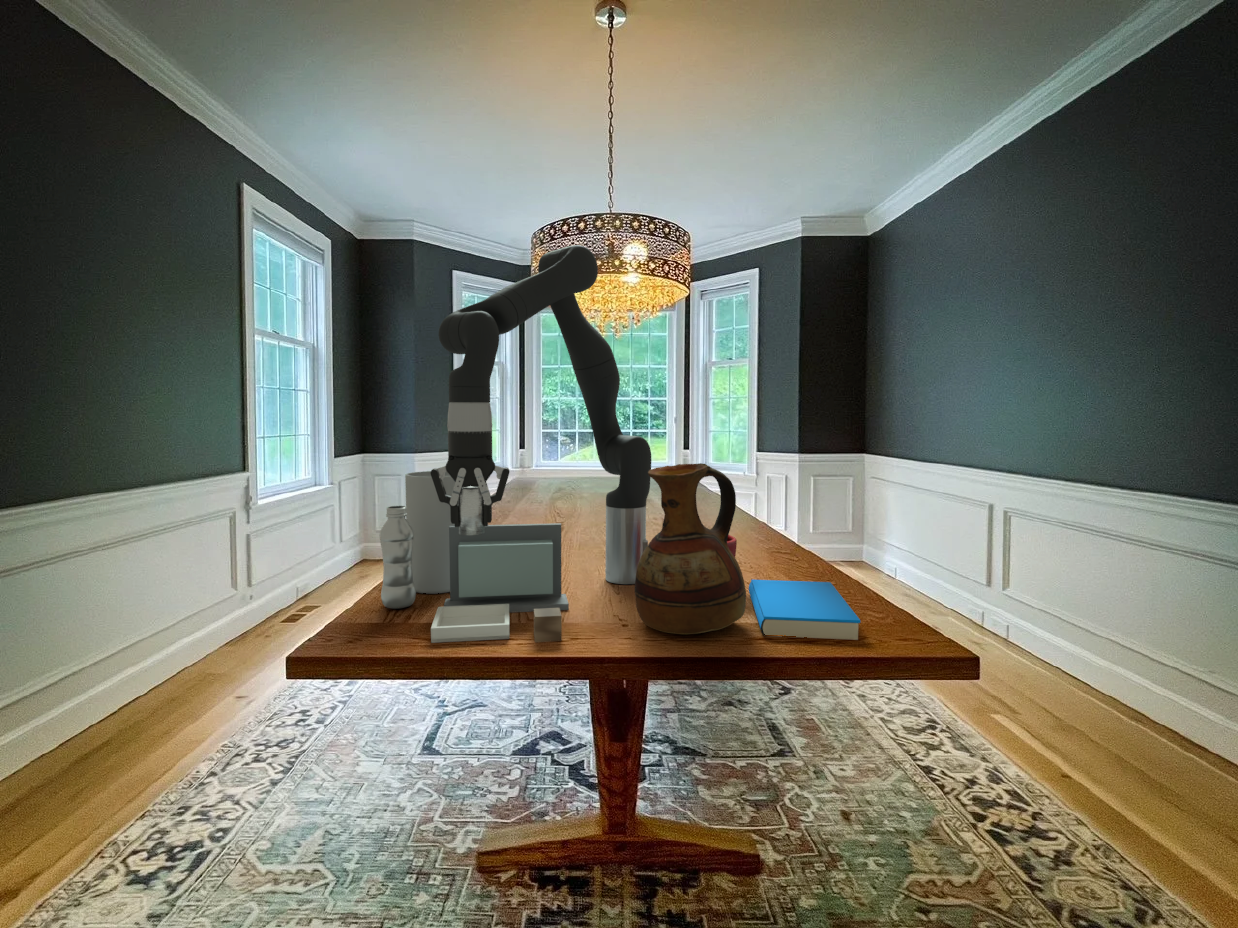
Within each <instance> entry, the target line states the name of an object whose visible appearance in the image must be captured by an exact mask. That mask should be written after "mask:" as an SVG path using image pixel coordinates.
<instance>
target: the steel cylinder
mask: <svg viewBox="0 0 1238 928" xmlns="http://www.w3.org/2000/svg"><path fill="white" fill-rule="evenodd" d="M484 504H485V502H484V499H483V496H482V494H481V491H480V488H479V487H473V486H468V487H462V488H461V491H460V494H459V498H458V506H459V534H461V535H480V534H483V533H484V507H483V506H484Z"/></svg>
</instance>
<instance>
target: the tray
mask: <svg viewBox="0 0 1238 928" xmlns="http://www.w3.org/2000/svg"><path fill="white" fill-rule="evenodd" d="M443 606H444V605H443ZM443 606H438V607H437V609H436V612H435V615H434V618H433V621H432V624H431V627H430V643H433V644H434V643H436V644H437V643H452V642H453V643H454V642H455V643H456V642H471V641H473V642H474V641H490V640H491V641H494V640H510V612H509V604H491V605H467V606H444V607H443Z"/></svg>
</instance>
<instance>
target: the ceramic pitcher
mask: <svg viewBox="0 0 1238 928" xmlns="http://www.w3.org/2000/svg"><path fill="white" fill-rule="evenodd" d="M648 474H649V476H650V479H652V480H654V482H655V483H656V484H657V485H658V487H659V490H660V493H661V494H660V497H661V499H660V506H661V508H662V511H663V513H664V517H663V521H662V527H661V530H660V531H659V532H658V533H657V534H656V535H655V536H654V537H652V539H651V540H650V542H648V546H647V547H646V549H645V550H644V552H643V554H642V555H641V558H640V561H639V563H638V567H637V571H636V579H635V584H634V598H635V607H636V611H637V613H638V616H639V618H640V621H642V623H643V624H645V625H646V626H648V627H649V628H650V629H653V630H656V631H660V632H662V633H668V634H677V635H692V634H693V635H694V634H701V633H702V634H703V633H708V632H712V631H718V630H722V629H724V628H727V627H729V626H731V625H732V624H733V623H735V622H737V621H739V620H740V619H742V617H743V616H744V614H745V612H746V607H747V606H746V605H747V590H746V585H745V579H744V577H743V572H742V569H741V567H740V565H739V563H738V561H737V559H736V556H735V557H734V556H733V554H732V553H731V551H730V550H729V548H728V546H727V538H728V535H730V531H731V527H732V524H733V520H734V517H735V511H736V506H737V505H736V504H737V494H736V489H735V487H734V484H733V482H732V480H731V479H730V478H729V477H728V476H727V475H726V474H724V473H723V472H722V471H720V470H718V469H715V468H713V467H712V466H710V465H708V464H706V463H683V464H681V463H680V464H679V463H678V464H676V465H664V466H659V467H655V468H651V469H650V470H649V471H648ZM707 477H713V478H714V479H715V480H716V482H717V484H718V488H719V492H720V506H719V511H718V515H717V516H716V517H717V518H716V520H715V522H714V525H712V527H711V528H709V527H706V526H705V525H704V524H703V522H702V520H701V518H700V516H699V511H698V505H697V488H698V486H699V483H700V482H701V480H703V479H704V478H707Z"/></svg>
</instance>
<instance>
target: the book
mask: <svg viewBox="0 0 1238 928" xmlns="http://www.w3.org/2000/svg"><path fill="white" fill-rule="evenodd" d="M748 593H749V596H750V599H751V603H752V605H753V609H754V612H755V616H756V619H757V621H758V625H759V629H760V632H761V633H763V635H764V634H765V635H783V636H784V635H786V636H796V637H795V638H804V637H807V638H810V639H827V640H828V639H832V640H833V639H834V640H852V641H853V640H854V641H859V624H861V619H860V618H859V616H858V615H857V614H856V613H855V612H854V610H853V609H852V608H851V606H850V605H849V604H848V602H847V601H846V600H845V598H843V596H842V595H841V594H840V593H839V591H838V590H837V589H836V587H835V586H834V585H833V583H832V582H831V581H807V580H806V581H804V580H803V581H801V580H778V579H776V580H775V579H774V580H773V579H751V580H750V582H749V584H748ZM761 630H762V631H761ZM765 635H764V636H765Z"/></svg>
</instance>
